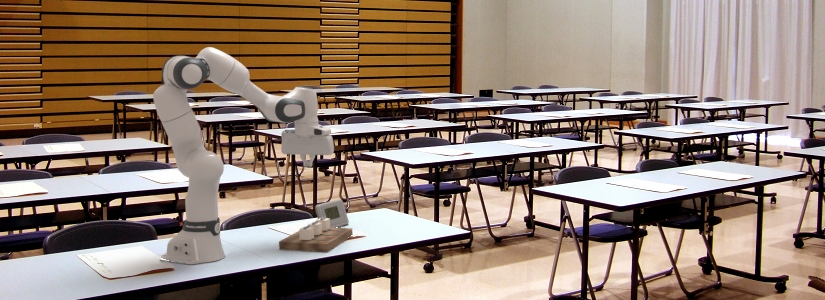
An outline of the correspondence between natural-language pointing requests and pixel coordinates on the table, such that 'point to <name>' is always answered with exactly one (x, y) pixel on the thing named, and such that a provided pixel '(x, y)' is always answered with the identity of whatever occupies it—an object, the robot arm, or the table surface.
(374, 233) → the table surface
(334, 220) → the digital clock
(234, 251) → the table surface
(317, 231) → the switch middle
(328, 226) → the switch back
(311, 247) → the switch housing
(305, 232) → the switch front
